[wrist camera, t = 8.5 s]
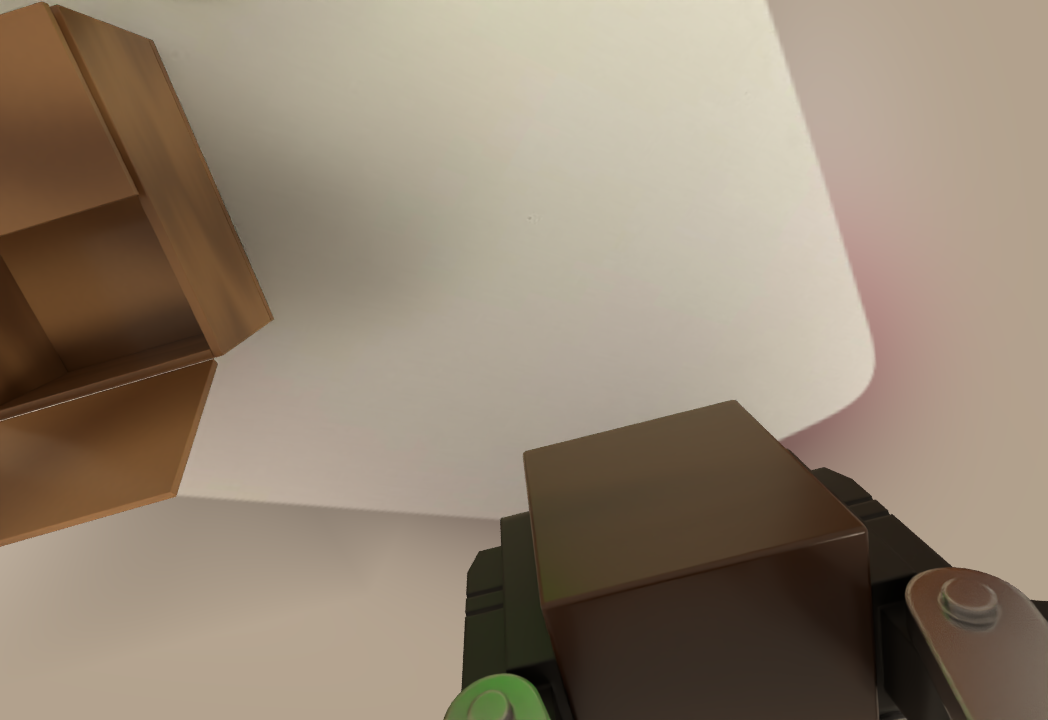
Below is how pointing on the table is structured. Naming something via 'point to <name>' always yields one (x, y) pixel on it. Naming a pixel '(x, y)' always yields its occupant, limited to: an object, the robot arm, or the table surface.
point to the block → (700, 575)
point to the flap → (99, 453)
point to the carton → (105, 218)
